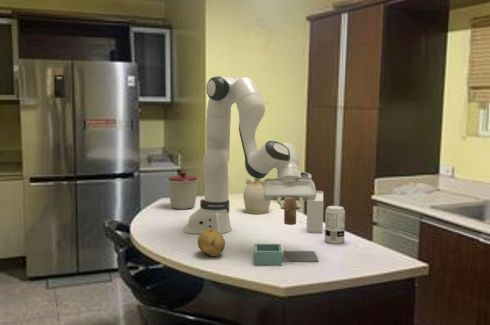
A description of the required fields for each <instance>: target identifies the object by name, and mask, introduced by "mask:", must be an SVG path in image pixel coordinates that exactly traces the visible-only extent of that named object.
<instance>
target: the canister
mask: <svg viewBox="0 0 490 325" xmlns="http://www.w3.org/2000/svg"><path fill="white" fill-rule="evenodd" d="M199 180H200V178H199V177H197V176H194V175H189V174H188V175H187V172H186V171H185V170H181V171H180V172H179V174H178V175H172V176H169V177H168V178H167V179H166V182H167V186H168V194H169V201H170V205H171V207H172V208H173V209H175V208H177V209H176V210H189V209H188V208H190V209H193V208H194V207H195V205H196V199H197V193H198V192H197V191H198V183H199ZM192 207H193V208H192Z"/></svg>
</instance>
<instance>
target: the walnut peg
mask: <svg viewBox="0 0 490 325" xmlns="http://www.w3.org/2000/svg"><path fill="white" fill-rule="evenodd" d="M283 201H284V204H285V205H284V206H285V209H283V210H284V211H283V213H284V215H283V223H284V225H287V226H288V225H289V226H293V225H297V209H296V203H297V200H296V197H284V200H283Z"/></svg>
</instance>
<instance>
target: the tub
mask: <svg viewBox="0 0 490 325" xmlns="http://www.w3.org/2000/svg"><path fill="white" fill-rule="evenodd" d="M253 250H254V252H253V262H254V266H282V265H283V250H282V246H281V243H254V245H253Z"/></svg>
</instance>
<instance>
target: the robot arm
mask: <svg viewBox="0 0 490 325" xmlns="http://www.w3.org/2000/svg"><path fill="white" fill-rule="evenodd" d="M206 83H207V84H206V88H205V89H206V90H205V91H206V94H207V97H208V98H209V99H208V102H207V108H206V118H205V119H206V121H205V124H206V125H205V146H206V147H205V153H204V155H203V158H202V160H203V162H202V163H203V165H202V166H203V178H204V179H203V181H204V199H203V198H202V199H200V200H199V207H200V208H199V209H197V210H196V211H195V212H193V213H192V214H191V215H190V217H189V218H188V222H187V224H186V225H185V226H183V229H182V231H183V233H185V234H198V235H200V234H201V233H202V232H204V231H205V230H209V229H213V230H216V231H218V232H220V233H221V234H224V233H229V232H231V231H232V230H233V229H232V228H233V227H232V226H231V221H230V219H231V218H230V200H229V165H228V164H229V162H230V152H231V151H230V147H231V146H230V144H231V143H230V142H231V141H230V140H231V135H230V134H231V121H232V120H231V118H232V106H233V104H236V107H237V112H238V118H239V120H238V132H239V137H240V138H239V139H240V141H241V146H242V150H243V151H242V152H243V154H244V165H245V166H244V167H245V170H246V172H247V174H248V175H249V176H251V177H252V178H259V179H260V180H261V179H263V178H265V177H266V176H267V175H268V174H270V171H272V170H273V169H276V170H277V178H265V179H266V180H265V179H263V181H262V182H263V187H264V199H265V200H271V201H276V202H277V204H278V205H279V206H280V210H284V209H285V206H284V205H285V204H284V203H283V202H282V201H284V197H296V201H298V203H297V202H296V210H301V205H302V204H303V201H307V200H311V201H313V200H315V198H316V191H317V190H316V189H317V188H316V186H315V185H316V183H314V181H313V180H312V174H311V173H308V172H304V171H301V170H300V168H299V165H300V162H299V161H300V160H299V155H298V150H297V149H296V146H295V145H294V144H292V143H290V142H282V143H281V142H279V141H275V140H268V141H266V142H265V143H264V144H263V145H261V147H260V148H258V146H257V142H256V131H257V129H258V126H259V124H260V122H261V121H262V120H263V118H264V116H265V113H266V106H265V102H264V99H263V96H262V95H261V93H260V91H259V88H258V87H257V84H256V83H255V82H254V80H252V79H251V78H250V77H247V76H243V77H237V76H220V75H219V76H213V77H210V78H209V80H208V81H207V82H206Z"/></svg>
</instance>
